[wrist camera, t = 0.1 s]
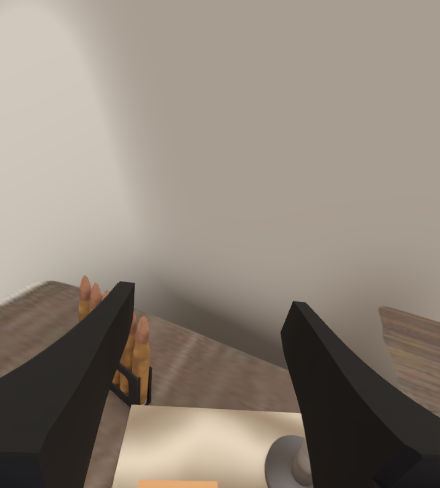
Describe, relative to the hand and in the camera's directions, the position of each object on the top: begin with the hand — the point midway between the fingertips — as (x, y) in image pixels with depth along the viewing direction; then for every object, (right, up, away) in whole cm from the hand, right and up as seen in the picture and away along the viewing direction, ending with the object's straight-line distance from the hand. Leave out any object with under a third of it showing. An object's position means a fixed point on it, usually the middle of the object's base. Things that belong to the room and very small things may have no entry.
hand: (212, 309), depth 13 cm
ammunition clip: (-12, -13, +20) cm, 27 cm away
